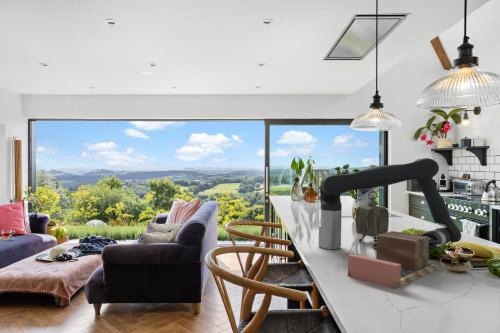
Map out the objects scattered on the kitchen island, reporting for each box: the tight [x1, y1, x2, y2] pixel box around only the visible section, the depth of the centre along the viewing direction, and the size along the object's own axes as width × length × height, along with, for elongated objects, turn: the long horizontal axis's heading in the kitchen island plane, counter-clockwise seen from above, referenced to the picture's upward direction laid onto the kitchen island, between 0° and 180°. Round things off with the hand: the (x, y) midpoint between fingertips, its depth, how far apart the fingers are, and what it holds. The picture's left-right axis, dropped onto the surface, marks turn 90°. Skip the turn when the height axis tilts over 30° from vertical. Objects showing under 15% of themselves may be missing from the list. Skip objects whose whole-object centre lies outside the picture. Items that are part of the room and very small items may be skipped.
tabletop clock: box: [355, 191, 390, 243], centre depth 183 cm, size 14×9×25 cm, turn 123°
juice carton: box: [356, 187, 377, 209], centre depth 210 cm, size 9×10×27 cm
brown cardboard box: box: [375, 230, 430, 270], centre depth 137 cm, size 12×14×10 cm
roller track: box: [347, 253, 437, 289], centre depth 133 cm, size 32×17×7 cm, turn 133°
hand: (415, 245), depth 145 cm, fingers closed
